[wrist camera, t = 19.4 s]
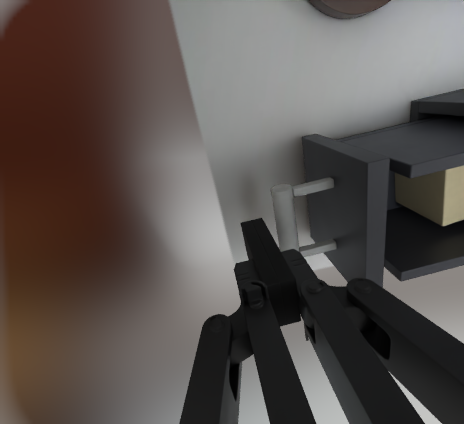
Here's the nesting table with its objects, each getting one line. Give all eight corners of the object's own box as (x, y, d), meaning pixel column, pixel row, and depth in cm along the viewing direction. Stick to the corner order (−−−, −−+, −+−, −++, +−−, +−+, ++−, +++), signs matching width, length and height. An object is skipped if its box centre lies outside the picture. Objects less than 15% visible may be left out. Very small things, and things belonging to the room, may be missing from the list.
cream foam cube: (395, 201, 24) (442, 227, 19) (393, 148, 21) (446, 162, 17) (448, 183, 24) (508, 205, 19) (451, 128, 21) (520, 137, 17)
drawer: (268, 247, 25) (303, 320, 17) (251, 149, 21) (287, 182, 13) (453, 201, 26) (570, 249, 18) (471, 96, 22) (634, 98, 14)
